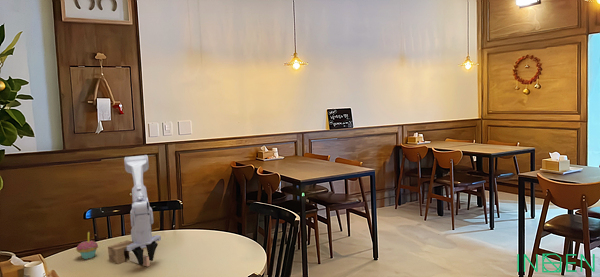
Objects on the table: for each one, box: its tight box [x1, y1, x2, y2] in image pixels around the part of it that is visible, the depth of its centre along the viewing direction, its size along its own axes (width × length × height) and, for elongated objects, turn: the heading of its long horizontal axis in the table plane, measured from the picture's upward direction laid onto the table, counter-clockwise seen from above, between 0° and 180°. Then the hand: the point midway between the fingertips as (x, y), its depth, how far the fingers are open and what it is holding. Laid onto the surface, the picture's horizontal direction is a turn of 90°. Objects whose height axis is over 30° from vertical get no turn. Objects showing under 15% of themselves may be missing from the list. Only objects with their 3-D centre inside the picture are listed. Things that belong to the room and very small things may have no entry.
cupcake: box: [75, 231, 99, 260], centre depth 193 cm, size 9×8×12 cm
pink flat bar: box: [128, 251, 151, 267], centre depth 183 cm, size 12×1×4 cm, turn 53°
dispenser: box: [107, 239, 134, 265], centre depth 190 cm, size 8×9×6 cm
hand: (146, 262), depth 180 cm, fingers open, 4 cm apart
